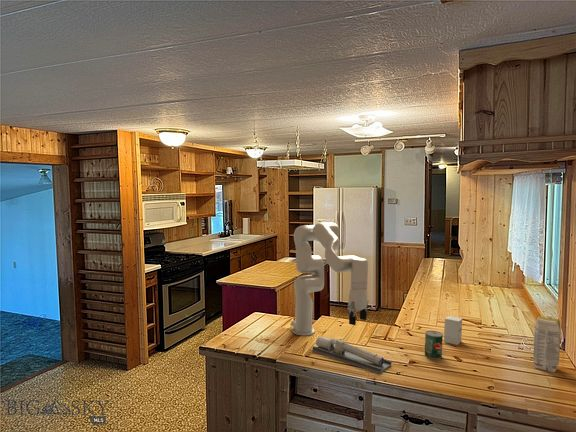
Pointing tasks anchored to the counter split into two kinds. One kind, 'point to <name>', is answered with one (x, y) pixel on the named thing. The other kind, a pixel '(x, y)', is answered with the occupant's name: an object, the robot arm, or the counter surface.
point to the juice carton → (547, 343)
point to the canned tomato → (433, 344)
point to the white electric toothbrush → (357, 352)
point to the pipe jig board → (347, 356)
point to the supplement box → (453, 330)
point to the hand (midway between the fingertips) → (357, 321)
